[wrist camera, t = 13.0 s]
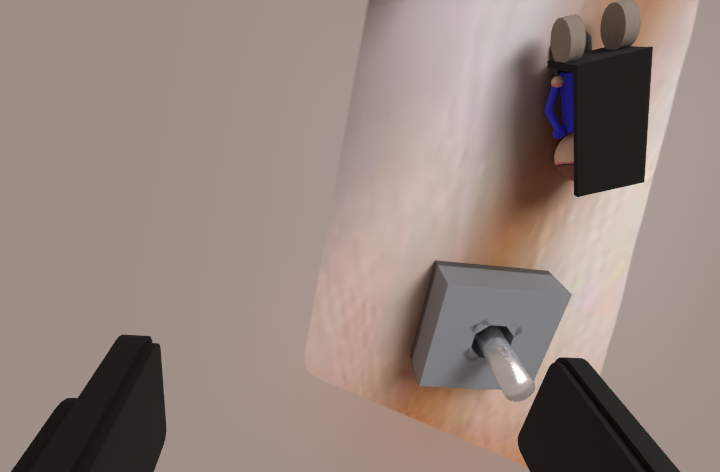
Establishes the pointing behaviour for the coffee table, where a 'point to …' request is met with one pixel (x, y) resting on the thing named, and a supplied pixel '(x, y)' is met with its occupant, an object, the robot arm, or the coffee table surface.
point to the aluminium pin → (505, 364)
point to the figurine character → (601, 100)
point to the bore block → (484, 321)
